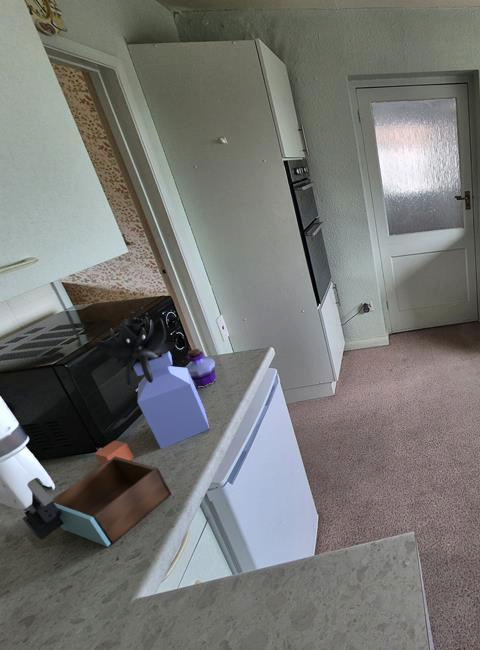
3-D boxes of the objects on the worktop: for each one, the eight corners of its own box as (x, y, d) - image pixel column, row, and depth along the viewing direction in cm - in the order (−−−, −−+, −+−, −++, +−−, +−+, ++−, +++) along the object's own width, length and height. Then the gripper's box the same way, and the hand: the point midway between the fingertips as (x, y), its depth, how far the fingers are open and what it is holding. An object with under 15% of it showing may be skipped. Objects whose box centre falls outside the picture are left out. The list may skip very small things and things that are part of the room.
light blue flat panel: (86, 565, 69) (64, 535, 65) (40, 545, 73) (18, 516, 70) (110, 543, 72) (91, 514, 69) (66, 526, 76) (46, 498, 73)
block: (102, 467, 91) (93, 453, 90) (122, 454, 95) (114, 440, 93) (114, 471, 90) (106, 457, 88) (134, 457, 94) (126, 443, 92)
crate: (113, 544, 73) (95, 516, 69) (69, 526, 77) (50, 500, 74) (171, 494, 82) (158, 468, 79) (129, 481, 87) (115, 456, 84)
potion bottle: (184, 389, 121) (170, 356, 116) (208, 374, 128) (195, 342, 123) (204, 392, 118) (190, 359, 113) (227, 377, 125) (215, 345, 120)
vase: (146, 458, 93) (78, 331, 79) (147, 433, 102) (86, 315, 88) (212, 430, 101) (161, 310, 87) (207, 410, 109) (160, 297, 95)
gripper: (-64, 453, 62) (-1, 529, 70) (-14, 471, 57) (48, 550, 65) (-2, 423, 69) (49, 495, 76) (48, 436, 64) (98, 512, 71)
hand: (49, 520), depth 70 cm, fingers closed
